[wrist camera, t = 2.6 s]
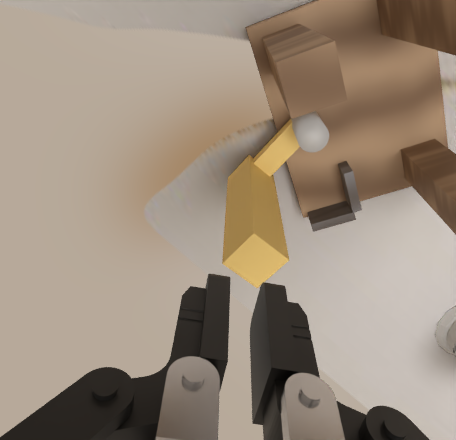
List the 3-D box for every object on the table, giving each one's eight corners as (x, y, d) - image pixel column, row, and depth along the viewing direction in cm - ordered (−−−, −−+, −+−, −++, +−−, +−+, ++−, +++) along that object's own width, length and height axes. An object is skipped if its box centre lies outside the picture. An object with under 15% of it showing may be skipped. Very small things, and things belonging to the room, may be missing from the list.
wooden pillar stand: (245, 27, 34) (250, 49, 20) (417, -40, 32) (560, -68, 18) (301, 210, 42) (332, 317, 28) (441, 169, 40) (551, 264, 26)
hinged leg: (301, 97, 35) (336, 154, 22) (326, 120, 35) (371, 186, 23) (227, 177, 38) (222, 263, 26) (251, 196, 39) (257, 288, 27)
